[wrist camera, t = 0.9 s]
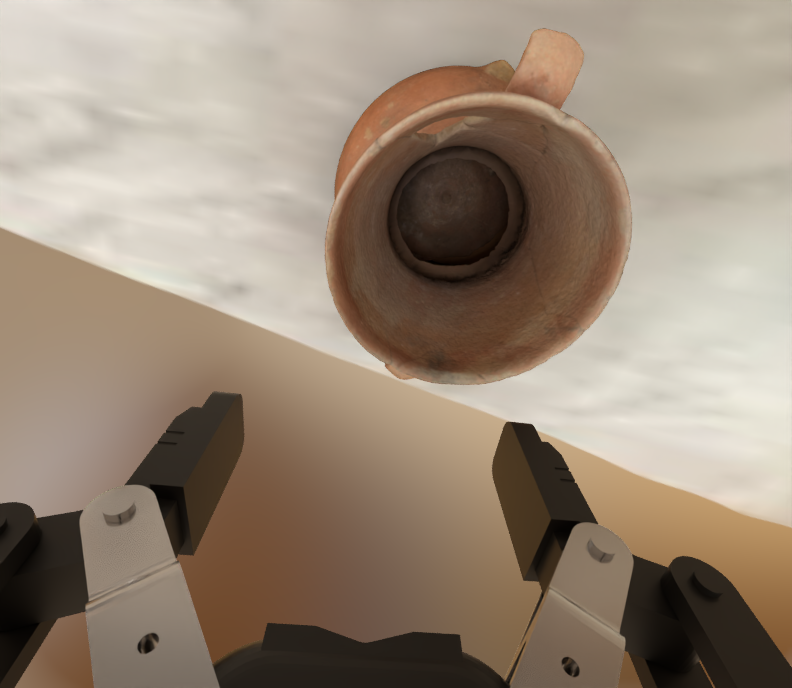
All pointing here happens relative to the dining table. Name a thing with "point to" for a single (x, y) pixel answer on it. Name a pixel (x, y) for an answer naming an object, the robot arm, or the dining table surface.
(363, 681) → the robot arm
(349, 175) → the ceramic jug
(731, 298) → the dining table surface
